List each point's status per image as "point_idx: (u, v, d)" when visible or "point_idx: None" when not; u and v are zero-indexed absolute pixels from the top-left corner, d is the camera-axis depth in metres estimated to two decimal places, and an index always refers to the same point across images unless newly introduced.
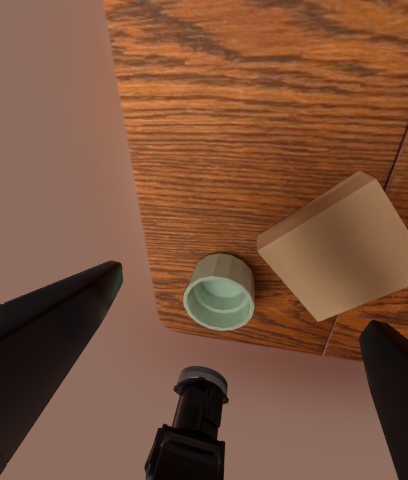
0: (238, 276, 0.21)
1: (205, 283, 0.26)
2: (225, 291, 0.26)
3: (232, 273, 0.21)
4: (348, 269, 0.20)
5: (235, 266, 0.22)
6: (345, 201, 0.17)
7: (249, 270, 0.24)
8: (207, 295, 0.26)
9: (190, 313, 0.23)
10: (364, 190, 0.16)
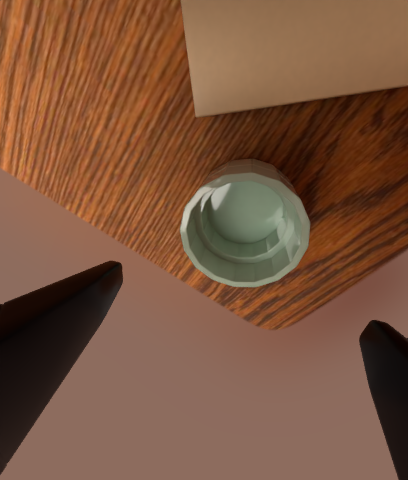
0: (219, 174, 0.12)
1: (235, 236, 0.17)
2: (265, 220, 0.16)
3: (208, 179, 0.12)
4: None
5: (215, 172, 0.13)
6: None
7: (247, 160, 0.14)
8: (251, 246, 0.16)
9: (232, 282, 0.14)
10: None
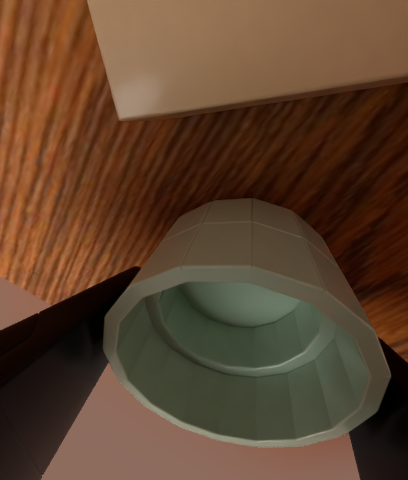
0: (178, 246, 0.05)
1: (225, 315, 0.10)
2: (276, 296, 0.09)
3: (157, 256, 0.06)
4: None
5: (179, 229, 0.07)
6: None
7: (243, 202, 0.07)
8: (251, 336, 0.10)
9: (214, 436, 0.07)
10: None
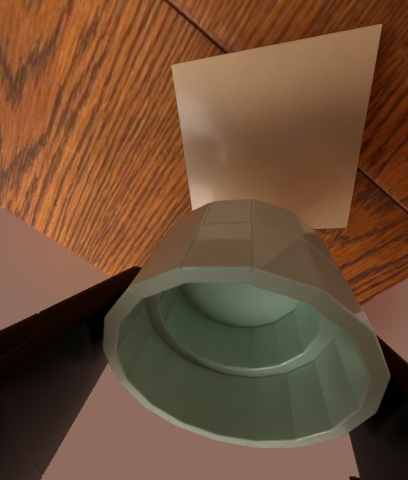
0: (178, 247, 0.05)
1: (225, 316, 0.10)
2: (275, 296, 0.09)
3: (157, 256, 0.06)
4: (282, 149, 0.13)
5: (179, 230, 0.07)
6: (182, 112, 0.13)
7: (242, 203, 0.07)
8: (251, 337, 0.10)
9: (214, 436, 0.07)
10: (178, 85, 0.13)
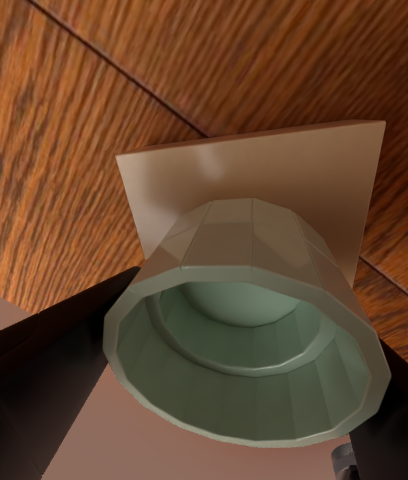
0: (178, 247, 0.05)
1: (225, 315, 0.10)
2: (276, 296, 0.09)
3: (157, 256, 0.06)
4: None
5: (179, 229, 0.07)
6: (134, 206, 0.11)
7: (243, 202, 0.07)
8: (251, 336, 0.10)
9: (214, 436, 0.07)
10: (126, 177, 0.10)
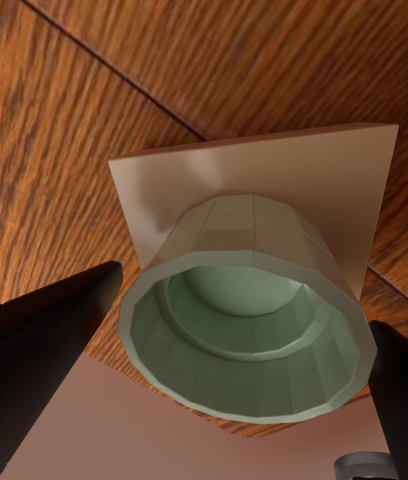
0: (187, 237, 0.06)
1: (227, 306, 0.11)
2: (275, 287, 0.10)
3: (168, 245, 0.06)
4: None
5: (187, 223, 0.07)
6: (128, 213, 0.10)
7: (245, 198, 0.08)
8: (252, 325, 0.10)
9: (218, 414, 0.08)
10: (120, 183, 0.10)
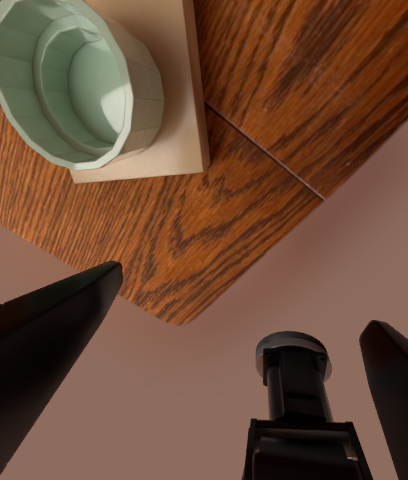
0: None
1: (108, 134, 0.15)
2: None
3: None
4: None
5: None
6: None
7: None
8: None
9: (72, 164, 0.12)
10: None
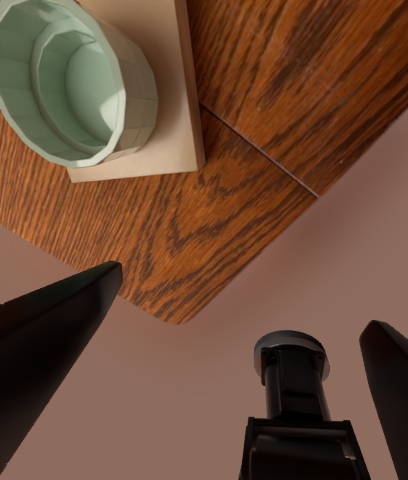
0: None
1: (104, 134, 0.15)
2: None
3: None
4: None
5: None
6: None
7: None
8: None
9: (68, 162, 0.12)
10: None
